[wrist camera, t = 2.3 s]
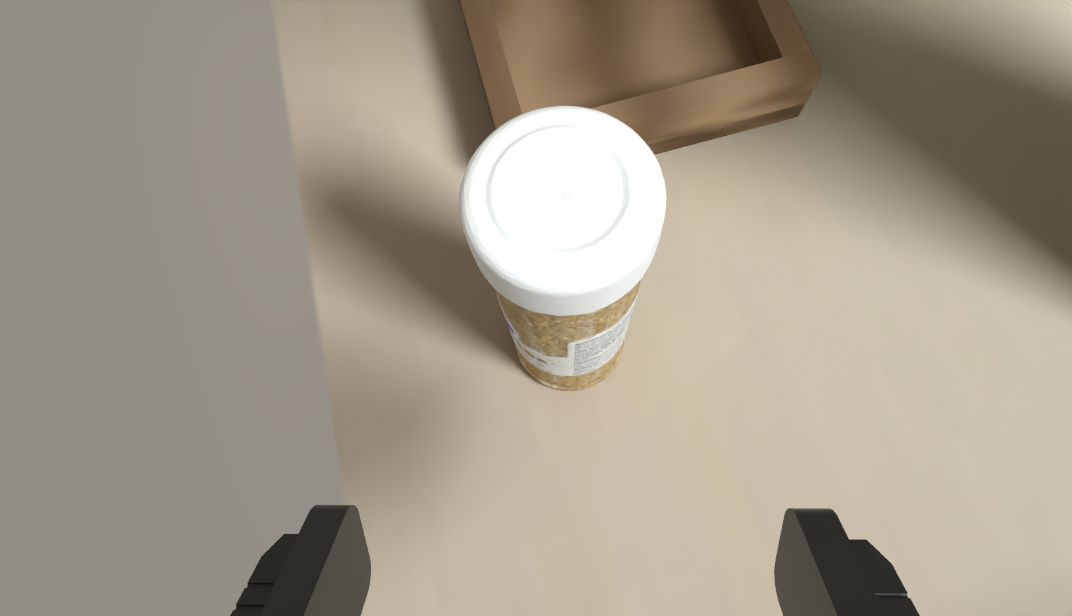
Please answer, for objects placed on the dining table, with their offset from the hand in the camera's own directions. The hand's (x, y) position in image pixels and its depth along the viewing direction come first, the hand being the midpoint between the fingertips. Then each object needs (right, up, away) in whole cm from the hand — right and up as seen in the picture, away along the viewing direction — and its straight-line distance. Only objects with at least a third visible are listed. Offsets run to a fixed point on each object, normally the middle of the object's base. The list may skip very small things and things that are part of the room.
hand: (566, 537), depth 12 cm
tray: (+3, +17, +18) cm, 26 cm away
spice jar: (+1, +3, +15) cm, 15 cm away
